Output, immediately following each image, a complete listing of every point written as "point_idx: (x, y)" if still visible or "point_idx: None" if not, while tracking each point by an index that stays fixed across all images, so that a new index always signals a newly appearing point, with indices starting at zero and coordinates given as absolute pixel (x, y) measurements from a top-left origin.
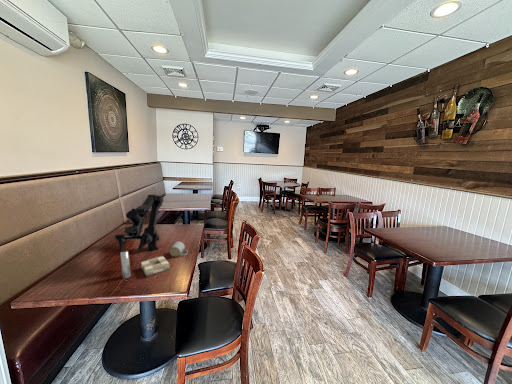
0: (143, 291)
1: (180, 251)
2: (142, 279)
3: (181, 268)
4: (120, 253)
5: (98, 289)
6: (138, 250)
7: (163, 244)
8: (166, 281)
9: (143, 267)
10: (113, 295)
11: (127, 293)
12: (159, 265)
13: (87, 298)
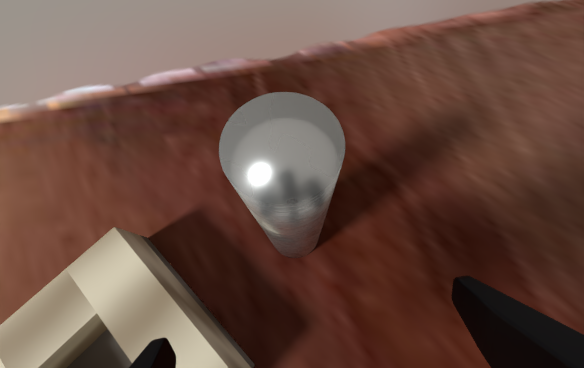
0: (110, 115)
1: None
2: (166, 213)
3: None
4: (319, 106)
5: (357, 99)
6: (139, 357)
7: None
8: (3, 212)
9: (183, 302)
10: (243, 74)
11: (183, 93)
12: (21, 329)
13: (347, 44)
